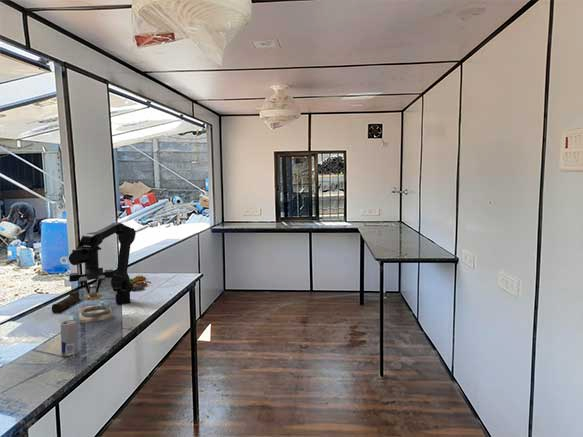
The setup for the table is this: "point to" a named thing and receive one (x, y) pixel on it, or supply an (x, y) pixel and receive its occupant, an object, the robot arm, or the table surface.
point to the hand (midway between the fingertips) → (92, 293)
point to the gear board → (95, 313)
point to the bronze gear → (93, 293)
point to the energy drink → (69, 337)
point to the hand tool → (66, 302)
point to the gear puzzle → (138, 283)
